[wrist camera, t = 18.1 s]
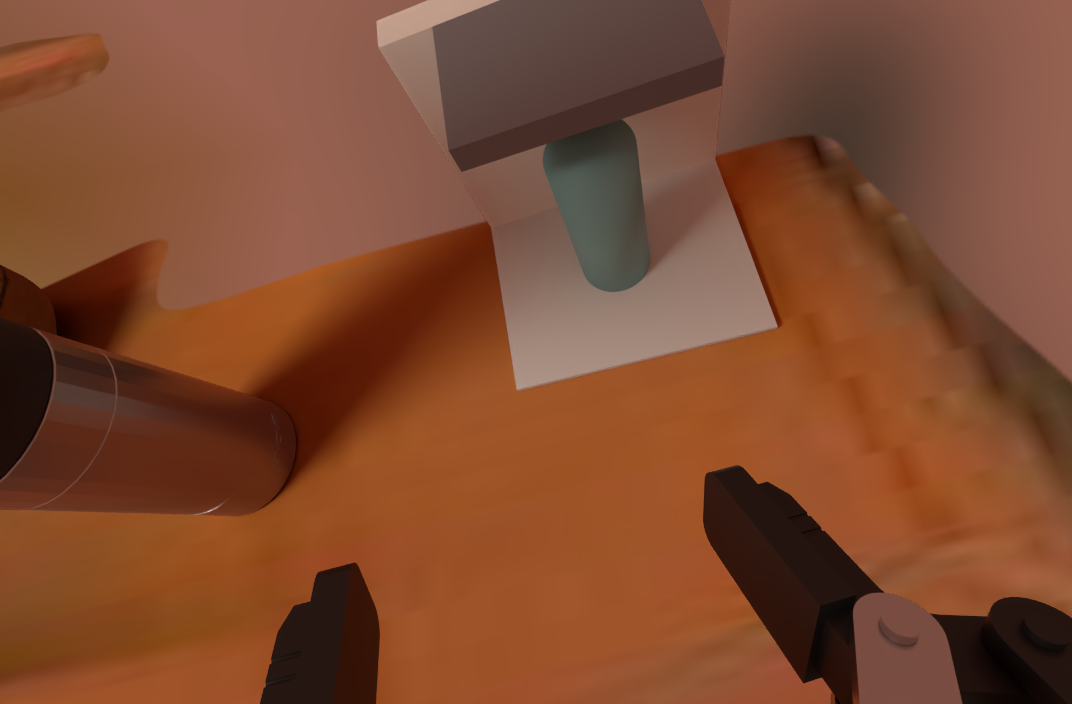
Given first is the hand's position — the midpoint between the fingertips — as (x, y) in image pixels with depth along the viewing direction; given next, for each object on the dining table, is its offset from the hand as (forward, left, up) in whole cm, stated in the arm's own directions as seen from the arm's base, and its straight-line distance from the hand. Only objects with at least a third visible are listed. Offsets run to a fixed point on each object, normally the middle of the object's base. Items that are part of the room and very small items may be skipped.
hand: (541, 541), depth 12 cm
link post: (+3, +19, -22) cm, 29 cm away
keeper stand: (+3, +19, -22) cm, 29 cm away
